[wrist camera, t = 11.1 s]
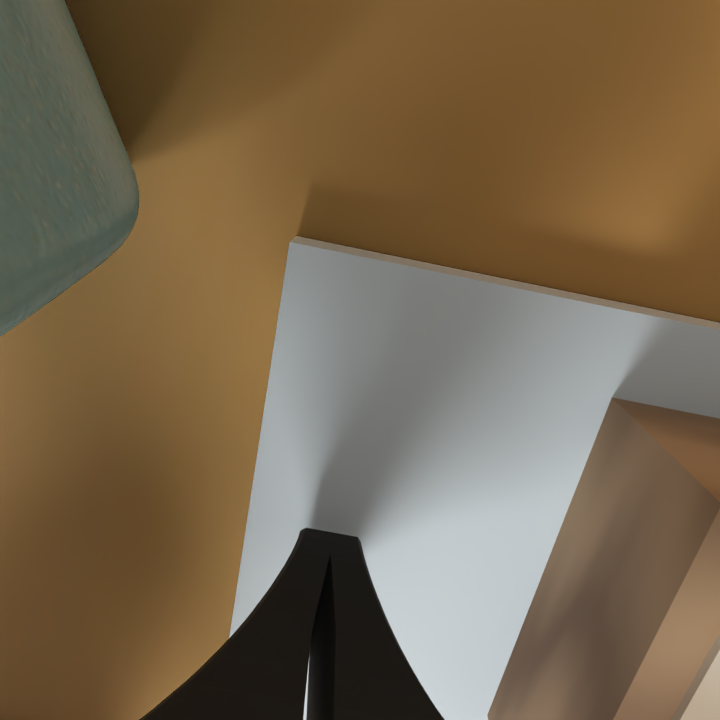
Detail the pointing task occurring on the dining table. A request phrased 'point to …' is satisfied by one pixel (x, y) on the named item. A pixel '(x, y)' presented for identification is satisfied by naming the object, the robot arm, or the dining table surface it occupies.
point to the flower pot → (54, 161)
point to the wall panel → (446, 439)
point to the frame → (629, 582)
